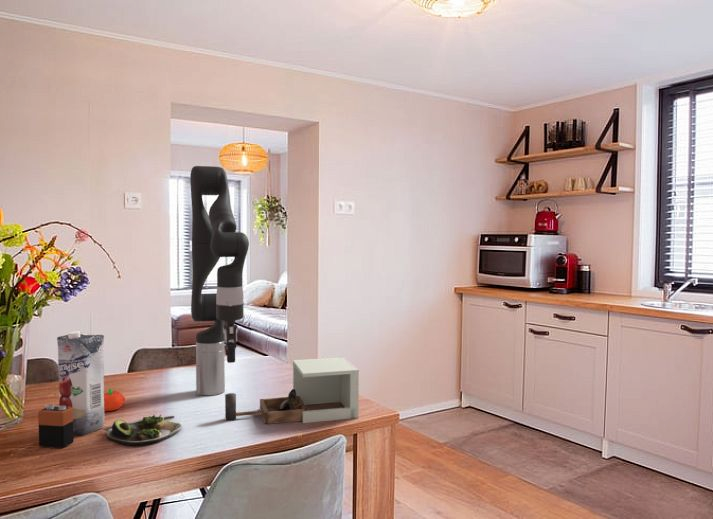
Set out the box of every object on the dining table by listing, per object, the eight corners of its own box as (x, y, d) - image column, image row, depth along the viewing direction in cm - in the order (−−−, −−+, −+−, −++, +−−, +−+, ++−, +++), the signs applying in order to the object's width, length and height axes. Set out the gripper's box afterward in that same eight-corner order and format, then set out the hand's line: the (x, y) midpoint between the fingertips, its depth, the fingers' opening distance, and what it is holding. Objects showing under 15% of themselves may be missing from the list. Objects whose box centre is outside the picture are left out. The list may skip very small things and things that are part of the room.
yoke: (226, 427, 148) (226, 402, 148) (224, 411, 162) (224, 388, 162) (307, 420, 155) (307, 395, 154) (299, 405, 168) (298, 383, 168)
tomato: (107, 416, 159) (103, 395, 159) (95, 410, 165) (92, 390, 164) (130, 407, 165) (127, 387, 164) (119, 402, 170) (116, 382, 169)
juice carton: (83, 421, 153) (82, 326, 152) (109, 427, 148) (108, 329, 147) (54, 431, 145) (52, 331, 144) (80, 438, 140) (78, 334, 139)
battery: (50, 441, 139) (49, 402, 138) (74, 442, 138) (73, 403, 137) (37, 447, 134) (37, 407, 134) (62, 449, 133) (62, 408, 133)
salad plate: (154, 417, 158) (153, 401, 158) (198, 428, 149) (198, 411, 149) (93, 438, 141) (93, 421, 141) (140, 452, 132) (140, 433, 132)
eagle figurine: (310, 411, 159) (301, 397, 168) (298, 394, 157) (289, 380, 165) (288, 427, 158) (280, 412, 166) (275, 409, 155) (268, 395, 163)
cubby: (303, 422, 153) (303, 373, 152) (293, 404, 169) (293, 360, 169) (358, 417, 157) (358, 369, 156) (343, 400, 174) (343, 357, 173)
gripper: (215, 299, 160) (216, 354, 161) (217, 306, 146) (217, 365, 147) (241, 299, 162) (241, 352, 163) (245, 305, 148) (245, 363, 149)
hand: (230, 358), depth 155 cm, fingers open, 8 cm apart
